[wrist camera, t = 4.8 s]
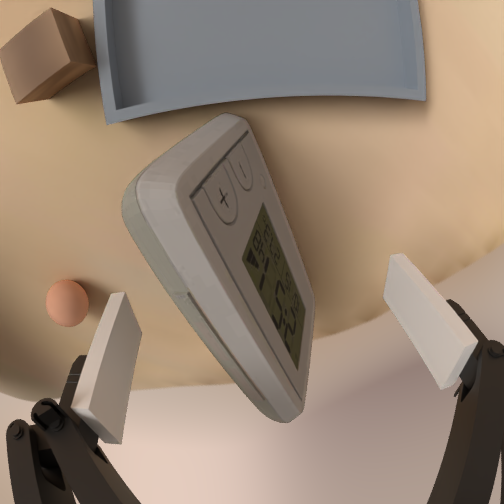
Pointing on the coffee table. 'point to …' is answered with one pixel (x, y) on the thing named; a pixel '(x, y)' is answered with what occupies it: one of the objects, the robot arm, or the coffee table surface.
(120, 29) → the tray
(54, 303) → the terracotta ball
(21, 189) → the coffee table surface
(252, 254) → the digital clock
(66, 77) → the walnut cube
